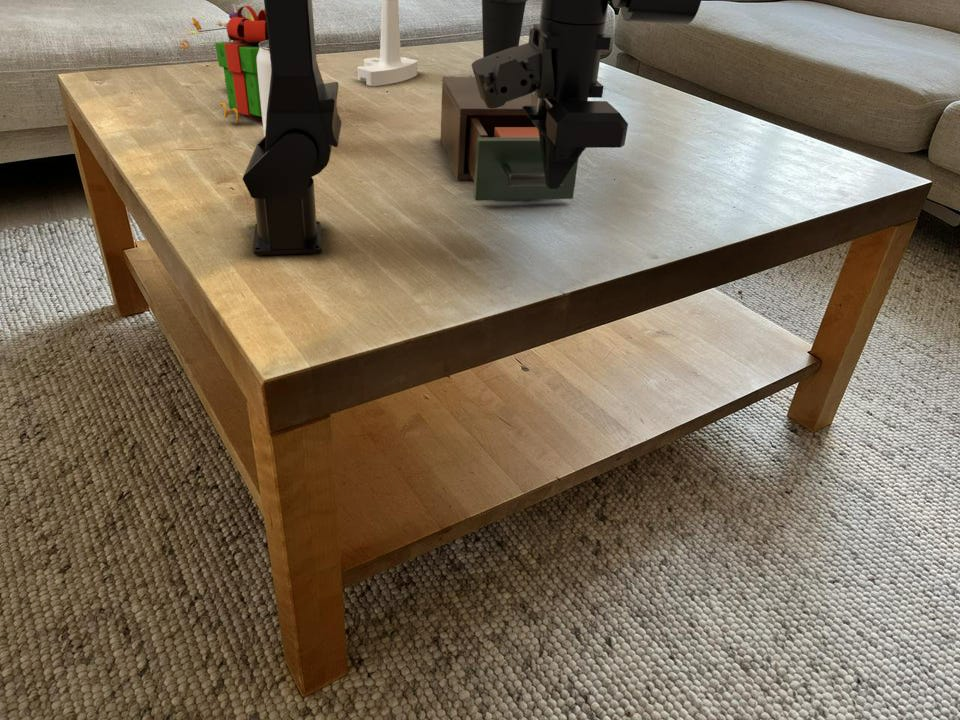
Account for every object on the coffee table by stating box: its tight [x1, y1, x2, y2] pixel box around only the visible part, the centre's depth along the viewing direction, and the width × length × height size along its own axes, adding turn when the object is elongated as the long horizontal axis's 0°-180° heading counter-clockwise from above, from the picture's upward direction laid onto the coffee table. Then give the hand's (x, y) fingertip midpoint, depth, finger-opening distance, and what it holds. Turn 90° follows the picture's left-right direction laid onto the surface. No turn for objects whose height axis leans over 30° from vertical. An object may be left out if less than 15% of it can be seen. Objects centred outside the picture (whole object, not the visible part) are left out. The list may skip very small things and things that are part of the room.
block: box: [494, 127, 539, 137], centre depth 88 cm, size 5×5×5 cm
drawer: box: [465, 115, 579, 201], centre depth 88 cm, size 17×11×7 cm
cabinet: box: [440, 76, 532, 181], centre depth 96 cm, size 14×13×9 cm
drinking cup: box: [481, 0, 529, 58], centre depth 123 cm, size 8×8×20 cm
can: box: [257, 40, 271, 138], centre depth 95 cm, size 6×6×12 cm
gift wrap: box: [179, 5, 268, 124], centre depth 103 cm, size 20×19×14 cm
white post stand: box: [357, 0, 418, 87], centre depth 122 cm, size 11×8×20 cm
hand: (552, 187), depth 76 cm, fingers closed
